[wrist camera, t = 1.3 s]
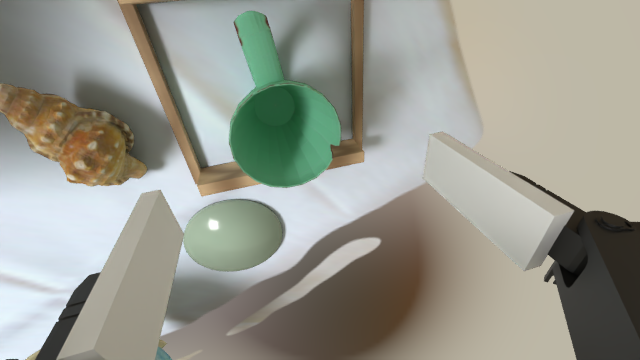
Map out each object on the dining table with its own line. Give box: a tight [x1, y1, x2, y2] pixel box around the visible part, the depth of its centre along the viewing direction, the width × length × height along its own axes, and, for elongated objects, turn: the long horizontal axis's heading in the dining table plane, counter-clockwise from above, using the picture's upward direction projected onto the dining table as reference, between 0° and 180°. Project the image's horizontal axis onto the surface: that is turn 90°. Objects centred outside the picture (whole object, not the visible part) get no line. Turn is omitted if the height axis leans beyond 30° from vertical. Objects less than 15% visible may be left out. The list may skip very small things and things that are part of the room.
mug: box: [229, 11, 341, 188], centre depth 26 cm, size 15×10×10 cm
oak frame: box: [117, 0, 364, 196], centre depth 28 cm, size 22×20×4 cm
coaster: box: [183, 199, 282, 271], centre depth 40 cm, size 14×14×1 cm
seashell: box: [0, 83, 147, 186], centre depth 25 cm, size 9×8×10 cm
